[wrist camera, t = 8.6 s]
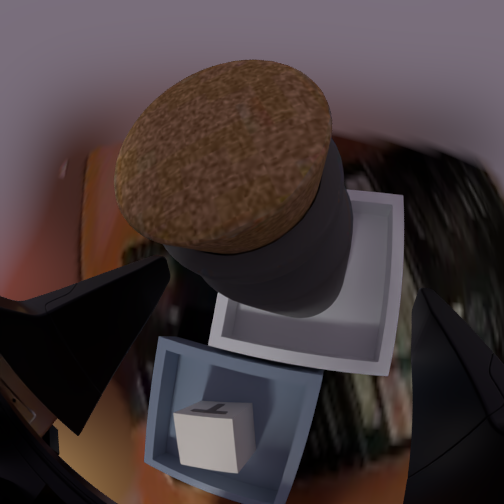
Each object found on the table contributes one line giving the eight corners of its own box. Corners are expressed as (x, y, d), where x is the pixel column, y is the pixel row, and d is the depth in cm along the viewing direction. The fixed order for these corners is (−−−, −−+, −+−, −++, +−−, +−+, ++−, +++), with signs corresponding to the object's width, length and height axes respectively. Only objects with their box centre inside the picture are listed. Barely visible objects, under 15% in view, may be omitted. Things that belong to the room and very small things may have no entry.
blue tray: (287, 496, 14) (281, 513, 12) (160, 453, 18) (144, 462, 16) (324, 369, 17) (322, 375, 14) (176, 336, 21) (159, 336, 18)
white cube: (256, 450, 16) (237, 473, 12) (206, 445, 17) (180, 464, 13) (252, 401, 17) (232, 418, 13) (201, 399, 18) (173, 411, 14)
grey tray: (381, 370, 16) (388, 376, 13) (222, 343, 19) (208, 345, 17) (396, 210, 18) (403, 195, 16) (251, 199, 22) (241, 184, 20)
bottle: (260, 239, 20) (129, 86, 6) (340, 232, 19) (329, 32, 5) (260, 319, 19) (73, 283, 5) (346, 316, 17) (399, 267, 3)
